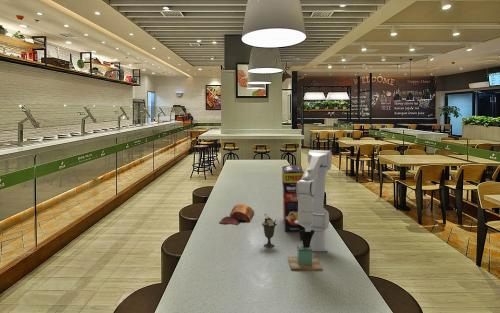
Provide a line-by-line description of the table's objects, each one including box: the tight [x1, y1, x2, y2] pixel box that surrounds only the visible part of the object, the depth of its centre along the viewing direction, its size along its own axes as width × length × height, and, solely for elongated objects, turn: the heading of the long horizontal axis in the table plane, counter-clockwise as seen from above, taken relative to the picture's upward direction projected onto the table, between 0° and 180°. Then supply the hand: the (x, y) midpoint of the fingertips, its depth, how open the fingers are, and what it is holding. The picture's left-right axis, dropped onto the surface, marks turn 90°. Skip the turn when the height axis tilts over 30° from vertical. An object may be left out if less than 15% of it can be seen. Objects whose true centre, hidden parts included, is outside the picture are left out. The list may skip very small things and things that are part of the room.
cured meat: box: [219, 203, 255, 226], centre depth 215 cm, size 18×25×7 cm
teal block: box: [296, 245, 313, 265], centre depth 148 cm, size 5×5×6 cm
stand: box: [287, 256, 324, 272], centre depth 148 cm, size 12×12×5 cm
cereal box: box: [281, 164, 304, 233], centre depth 201 cm, size 27×11×32 cm, turn 177°
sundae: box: [261, 213, 278, 249], centre depth 169 cm, size 7×7×15 cm
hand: (304, 244), depth 147 cm, fingers open, 7 cm apart
